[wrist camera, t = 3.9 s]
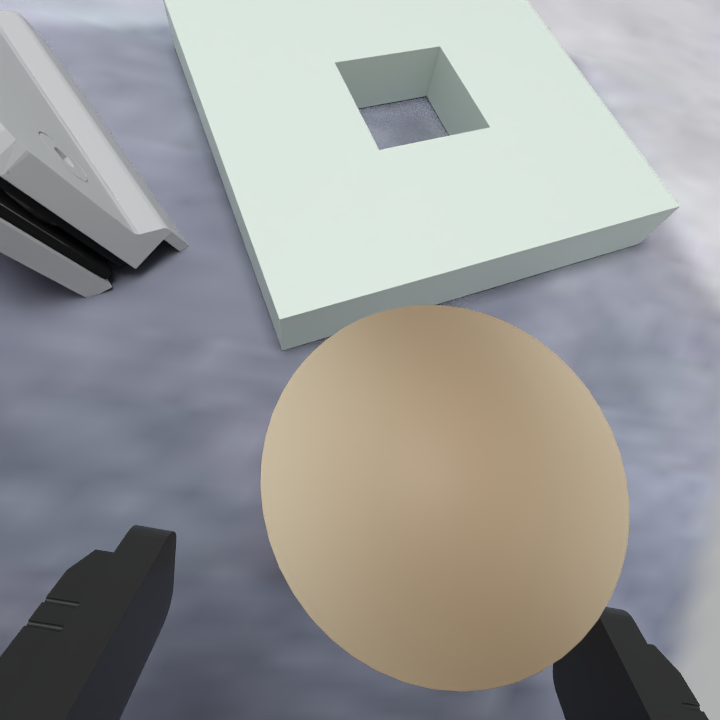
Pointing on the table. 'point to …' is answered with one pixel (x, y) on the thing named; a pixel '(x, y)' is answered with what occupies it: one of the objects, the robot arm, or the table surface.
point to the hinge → (66, 174)
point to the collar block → (405, 152)
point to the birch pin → (445, 497)
